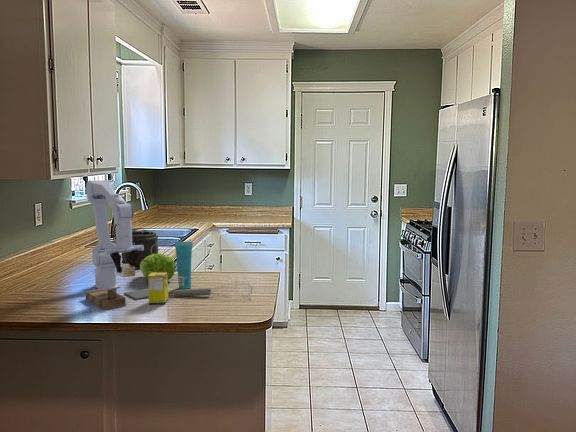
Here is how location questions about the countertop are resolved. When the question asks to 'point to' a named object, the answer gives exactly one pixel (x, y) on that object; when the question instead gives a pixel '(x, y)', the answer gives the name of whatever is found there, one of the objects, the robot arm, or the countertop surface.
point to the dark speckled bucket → (149, 246)
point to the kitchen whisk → (202, 291)
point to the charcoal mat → (138, 294)
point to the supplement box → (158, 288)
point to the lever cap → (126, 270)
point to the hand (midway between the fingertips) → (125, 271)
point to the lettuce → (158, 265)
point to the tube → (184, 263)
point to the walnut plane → (105, 298)
